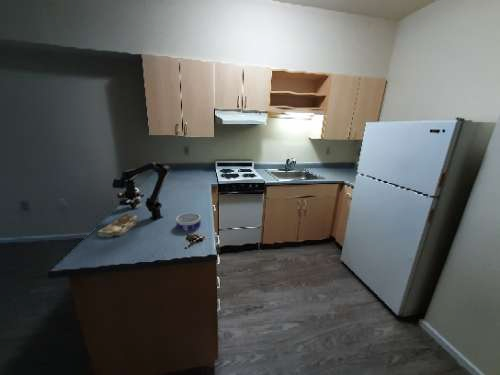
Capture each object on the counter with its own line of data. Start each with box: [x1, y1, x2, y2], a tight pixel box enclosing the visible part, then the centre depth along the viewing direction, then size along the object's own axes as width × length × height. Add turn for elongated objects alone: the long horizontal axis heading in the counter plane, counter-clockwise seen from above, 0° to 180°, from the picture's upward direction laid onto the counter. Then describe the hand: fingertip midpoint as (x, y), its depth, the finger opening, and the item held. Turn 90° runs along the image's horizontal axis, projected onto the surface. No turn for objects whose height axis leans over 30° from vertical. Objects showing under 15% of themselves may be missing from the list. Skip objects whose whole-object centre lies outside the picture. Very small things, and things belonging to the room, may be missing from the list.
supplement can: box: [128, 186, 142, 209], centre depth 165 cm, size 8×8×15 cm
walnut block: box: [119, 213, 133, 224], centre depth 142 cm, size 6×4×4 cm, turn 173°
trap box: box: [97, 215, 138, 238], centre depth 135 cm, size 24×12×3 cm, turn 173°
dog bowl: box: [175, 212, 202, 232], centre depth 140 cm, size 15×15×6 cm
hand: (133, 210), depth 149 cm, fingers closed
